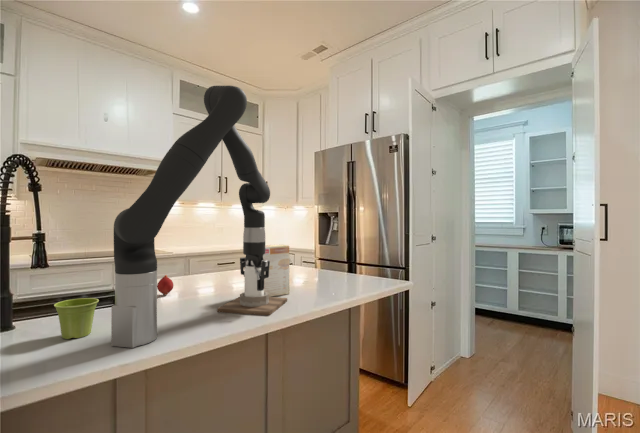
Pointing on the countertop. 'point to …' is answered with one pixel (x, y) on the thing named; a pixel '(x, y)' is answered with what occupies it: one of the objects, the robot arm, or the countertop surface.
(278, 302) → the board
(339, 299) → the countertop surface
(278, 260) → the coffeecake box
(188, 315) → the countertop surface
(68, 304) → the plant pot
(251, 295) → the can
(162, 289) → the onion
